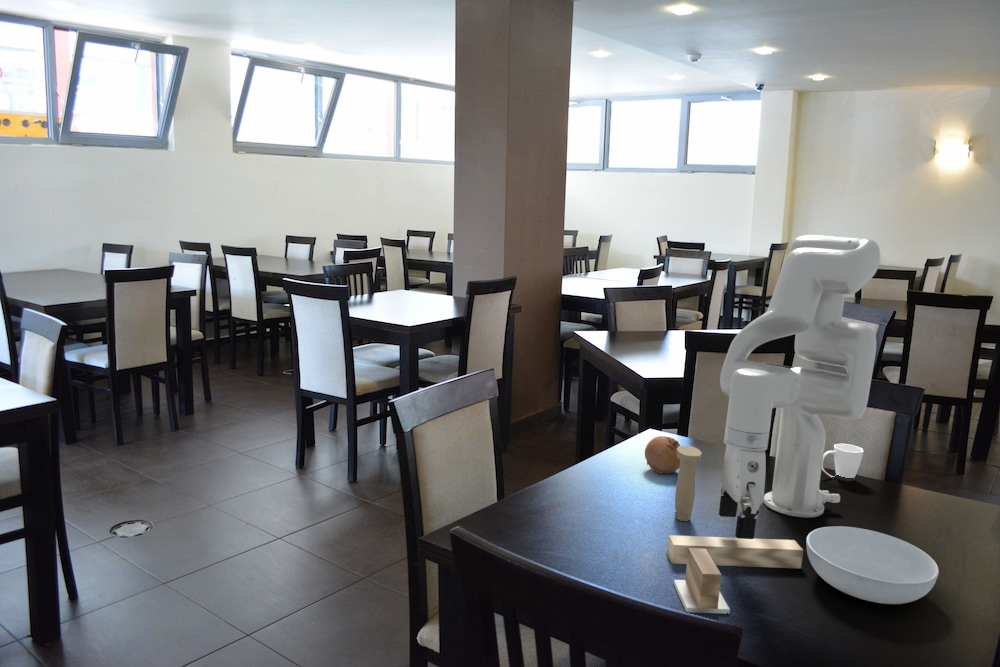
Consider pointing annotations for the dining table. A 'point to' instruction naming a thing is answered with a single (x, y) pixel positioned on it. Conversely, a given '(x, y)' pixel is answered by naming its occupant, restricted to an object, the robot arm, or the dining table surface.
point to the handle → (686, 481)
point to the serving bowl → (871, 564)
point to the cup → (845, 459)
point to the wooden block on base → (701, 584)
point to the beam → (738, 551)
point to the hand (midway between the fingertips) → (735, 526)
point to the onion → (662, 455)
